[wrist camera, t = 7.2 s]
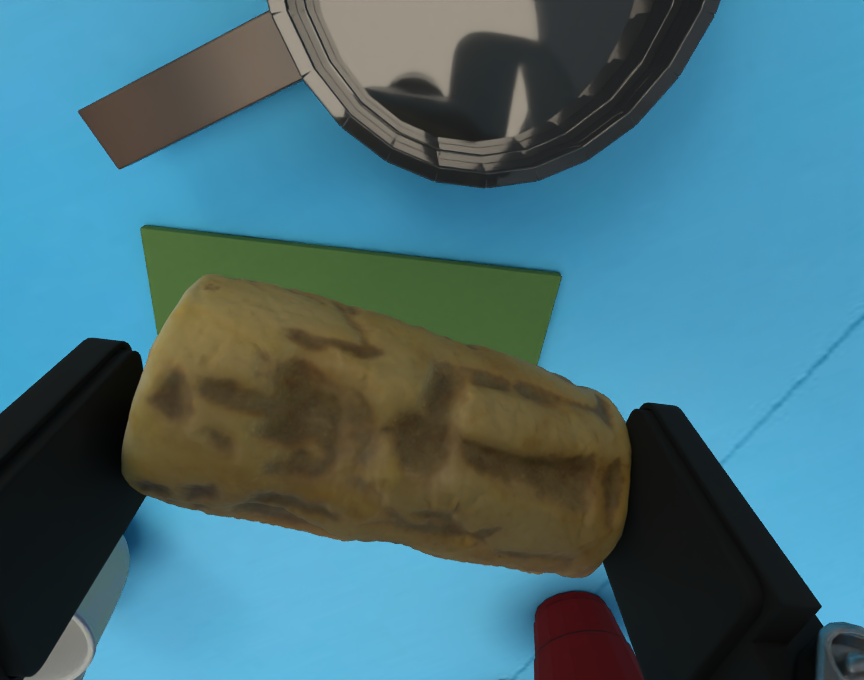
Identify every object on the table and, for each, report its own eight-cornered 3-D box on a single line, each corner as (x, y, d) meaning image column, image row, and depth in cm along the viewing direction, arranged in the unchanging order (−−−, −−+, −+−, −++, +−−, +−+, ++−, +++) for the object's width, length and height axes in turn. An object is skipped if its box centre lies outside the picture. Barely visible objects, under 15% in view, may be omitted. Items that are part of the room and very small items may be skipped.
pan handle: (288, 5, 17) (282, 2, 17) (320, 72, 18) (315, 73, 18) (92, 108, 19) (76, 110, 18) (131, 164, 20) (118, 170, 19)
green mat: (559, 272, 25) (562, 276, 25) (503, 475, 32) (505, 481, 32) (144, 224, 24) (139, 227, 23) (179, 449, 31) (176, 455, 30)
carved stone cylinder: (607, 363, 11) (689, 506, 8) (522, 493, 13) (555, 655, 9) (227, 228, 10) (109, 327, 6) (194, 397, 11) (89, 547, 8)
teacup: (-47, 456, 30) (-184, 577, 24) (140, 470, 31) (61, 591, 24) (18, 596, 37) (-73, 722, 30) (170, 604, 38) (115, 728, 31)
